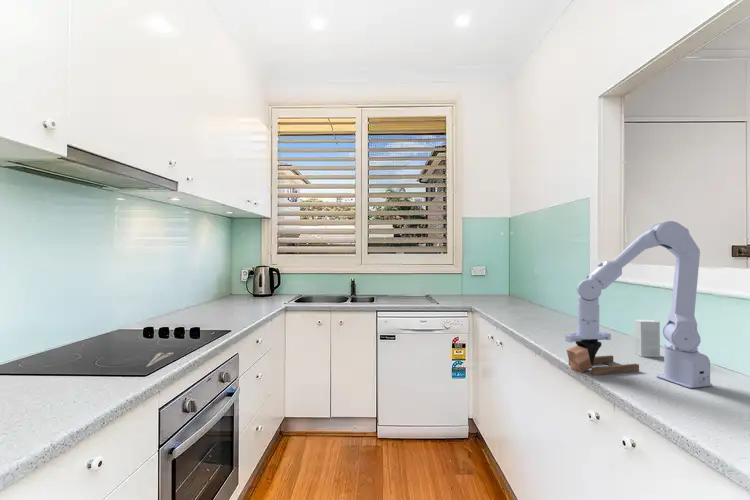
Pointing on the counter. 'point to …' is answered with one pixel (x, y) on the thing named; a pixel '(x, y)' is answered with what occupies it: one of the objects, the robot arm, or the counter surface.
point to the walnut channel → (611, 366)
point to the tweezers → (159, 358)
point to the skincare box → (647, 338)
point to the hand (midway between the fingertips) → (588, 364)
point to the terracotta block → (579, 358)
